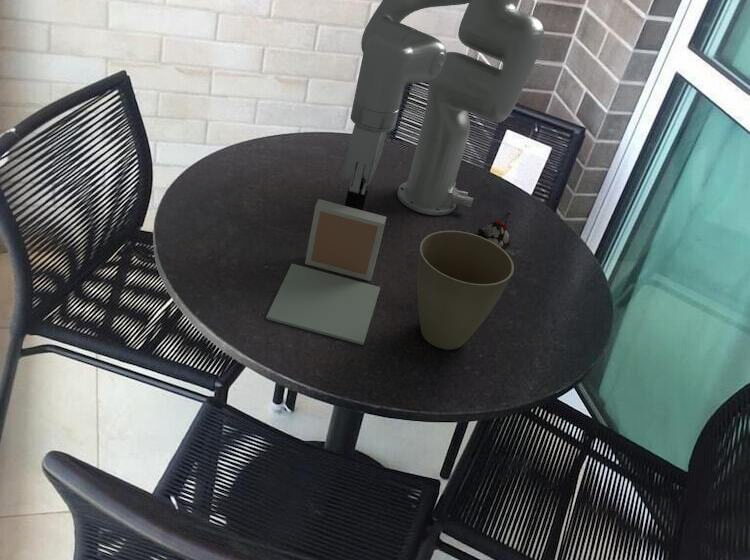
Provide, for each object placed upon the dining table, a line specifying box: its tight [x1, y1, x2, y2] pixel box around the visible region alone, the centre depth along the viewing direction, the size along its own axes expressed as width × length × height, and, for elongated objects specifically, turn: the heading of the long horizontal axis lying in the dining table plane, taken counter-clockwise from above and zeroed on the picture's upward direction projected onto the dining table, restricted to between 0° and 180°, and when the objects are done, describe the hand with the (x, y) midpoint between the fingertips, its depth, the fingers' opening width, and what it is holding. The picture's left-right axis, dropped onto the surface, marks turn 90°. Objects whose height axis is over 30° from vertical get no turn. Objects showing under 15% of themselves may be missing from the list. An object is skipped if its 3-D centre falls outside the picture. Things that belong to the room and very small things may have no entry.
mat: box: [265, 263, 381, 346], centre depth 135 cm, size 16×16×1 cm
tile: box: [304, 198, 387, 282], centre depth 141 cm, size 12×3×12 cm, turn 81°
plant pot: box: [416, 230, 515, 350], centre depth 130 cm, size 15×15×16 cm
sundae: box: [474, 212, 513, 251], centre depth 145 cm, size 7×7×15 cm
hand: (353, 209), depth 142 cm, fingers closed
